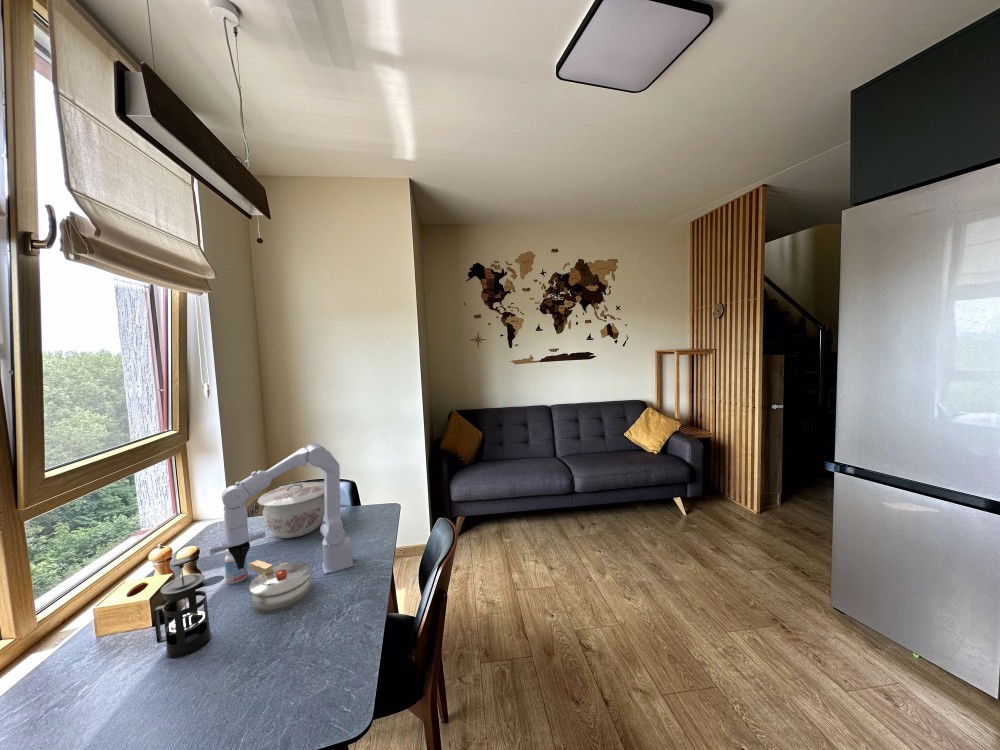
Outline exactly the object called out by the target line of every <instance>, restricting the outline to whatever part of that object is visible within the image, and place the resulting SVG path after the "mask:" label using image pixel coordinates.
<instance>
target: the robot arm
mask: <svg viewBox="0 0 1000 750" xmlns="http://www.w3.org/2000/svg"><path fill="white" fill-rule="evenodd" d="M308 464H309V465H311V466H313V467H317V468H320V469H321V470H323V479H324V480H323V483H324V504H325V514H324V517H323V521H322V523H321V524H320V527H319V528H320V529H319V531H320V534H321V535H322V536H323V539H322V542H321V545H322V546H321V547H322V558H323V562H322V563H321V565H322V571H323V575H327V574H330V573H334V572H337V571H341V570H344V569H348V568H352V567H353V566H354V560H353V557H354V556H353V551H352V549H353V548H352V540H351V537H350V536H348V537H346V531H345V529H344V526H343V521H342V517H341V494H340V493H341V490H340V489H341V485H340V484H341V482H340V481H341V479H340V477H341V475H340V473H341V471H340V468H341V467H340V463H339V462H338V460H337V459H336V458H335V457H334V456H333V454H332V452H330V451H329V450H327V449H326V448H325V447H323V446H322V445H320V444H318V443H314V442H313V443H310V444H307V445H306V446H304V447H302V448H299V449H297V450H296V451H295V452H293V453H292V454H290V455H289V456H287V457H286V458H284V459H282V460H281V461H279V462H278V463H277V464H275V465H273V466H272V467H270V468H269V469H267V470H258V471H257V472H256V470H255V471H252V472H251V473H250V475H249V476H248V477H246V478H244V479H243V480H241V481H237V482H235V483H234V485H230V486H227V487H226V488H225V489H224V491H223V492H222V495H221V499H222V504H223V511H224V512H223V517H224V518H223V520H224V529H225V538H226V539H225V540H223V541H221V542H219V543H216V544H214V545H211V546H209V547H208V554H209V556H213V555H215V554H216V553H219V552H222V551H226V549H228V550H229V552H230V553H231V554H232V556H233V558H234V560H235V562H236V565H237V568H238V570H239V569H242V568H244V562H245V558H246V559H247V555H248V552H249V550H250V549H251V548H250V547H251V544H250V542H253V541H255V540H259V539H264V538H266V531H265V529H261V530H258V531H252V532H249V525H248V514H247V508H246V503H245V502H246V500H247V499H250V498H251V497H253V496H255V495H256V494H258V493H260V492H261V491H263V490H264V489H267V488H268V487H269V486H270V485H271V484H272V483H271V482H272V480H273V479H275V478H277V477H280V475H282V474H284V473H286V472H288V471H290V470H292V469H293V468H296V467H308Z"/></svg>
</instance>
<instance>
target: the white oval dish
mask: <svg viewBox="0 0 1000 750" xmlns="http://www.w3.org/2000/svg"><path fill="white" fill-rule="evenodd" d="M286 563H288V562H287V561H285V562H282V563H279V564H278V566H279V565H282V564H286ZM312 589H313V588H312V576H311V577H310V578H309V579H308V581H306V582H305V583H304V584H303V585H301V586H300V587H298V588H296V589H294V590H292V591H290V592H287V593H285V594H282V595H278V596H273V597H256V596H253V595H252V594H251V599H252V609H253V611H255V612H256V613H258V614H261V615H266V614H267V615H268V614H269V615H271V614H277V613H281V612H284V611H287V610H289V609H292V608H294V607H296V606H297V605H299V604H301V603H302V602H303V601H305V600H306V599H308V597H309V596H310V595H311V593H312Z"/></svg>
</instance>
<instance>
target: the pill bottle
mask: <svg viewBox="0 0 1000 750" xmlns="http://www.w3.org/2000/svg"><path fill="white" fill-rule="evenodd" d="M225 552H226V553H225V554H226V556H225V557H224V569H225V570H224V571H225V581H226V583H227V584H232V585H233V584H238V583H240V582H243V581H244V580H246V579H247V578H248V575H249V574H248V571H249V570H248V562H247V557H246V558H245V562H244V568H242V569H239V570H238V568H237V565H236V562H235V560H234V558H233V556H232V554H231V553H230V552H229V550H228V549H226V550H225Z"/></svg>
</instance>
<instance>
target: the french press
mask: <svg viewBox="0 0 1000 750" xmlns="http://www.w3.org/2000/svg"><path fill="white" fill-rule="evenodd" d="M191 560H192V557H187V556H186V557H182V558H178V559H175V560H173V561H172V562H171V563H170V567H178V569H180V574H181V576H180V577H176V578H175V579H171V581H169V582H167V583H165V584H164V585H163V586H162V587H161V588H160V593H161V595H163V599H164V601H167V602H166V603H165V604H162V605H159V606H156V607H155V609H154V610H153V618H154V619H153V620H154V627H155V628H154V629H155V638H156V643H157V644H160V643H165V642H166V643H165V644H166V652H165V653H166V657H167V658H169V659H180V658H184V657H188V656H191V655H192V654H194V653H196V652H198V651H200V650H202V649H203V648H204V647H205V646H206V645H208V643H210V641H211V639H212V632H211V625H210V618H209V616H210V615H209V607H208V600H207V599H208V598H207V596H208V595H207V592H206V591H204V590H197V589H198V587H199V586H200V585H201V583H203V582H204V581H205V575H204V573H197V572H196V573H189V574H186V575H184V571H183V570H184V569H183V568H184V565H187V564H188V563H189V562H191ZM198 596H200V597H201V596H202V597H203V598H202V599H201V600H200V601H198V602H197V597H198ZM187 599H188V600H187ZM181 600H183V601H184V602H183V603H184V609H180V610H176V611H168V609H169V608H170V607H171V606H172V605H174V604H175V603H177V602H180V601H181ZM186 600H187V601H188V606H187V601H186ZM202 606H203V609H204V610H198V609H199V608H202ZM159 611H162V615H163V621H164V631H165V636H163V637H162V632H161V622H160V614H159ZM169 618H170V619H171V618H174V620H172V621H171V622H170V621H169ZM169 622H170V623H169ZM195 635H196V636H197V635H198V636H197V637H195V638H194V639H191V640H188V641H186V638H189V637H192V636H195Z"/></svg>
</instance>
